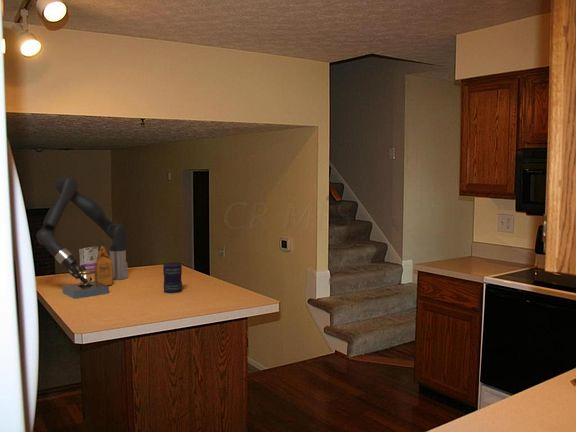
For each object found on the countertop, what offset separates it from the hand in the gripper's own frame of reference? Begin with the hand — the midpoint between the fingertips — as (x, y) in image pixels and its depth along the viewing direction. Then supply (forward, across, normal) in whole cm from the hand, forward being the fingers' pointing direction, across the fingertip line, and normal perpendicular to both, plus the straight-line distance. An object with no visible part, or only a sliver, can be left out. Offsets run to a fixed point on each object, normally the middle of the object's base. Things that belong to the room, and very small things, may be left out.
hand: (88, 281), depth 283 cm
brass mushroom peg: (+2, 0, +4) cm, 5 cm away
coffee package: (+4, +22, +5) cm, 23 cm away
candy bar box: (-13, +57, +22) cm, 63 cm away
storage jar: (+35, +7, -26) cm, 44 cm away
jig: (+3, 0, +6) cm, 7 cm away
